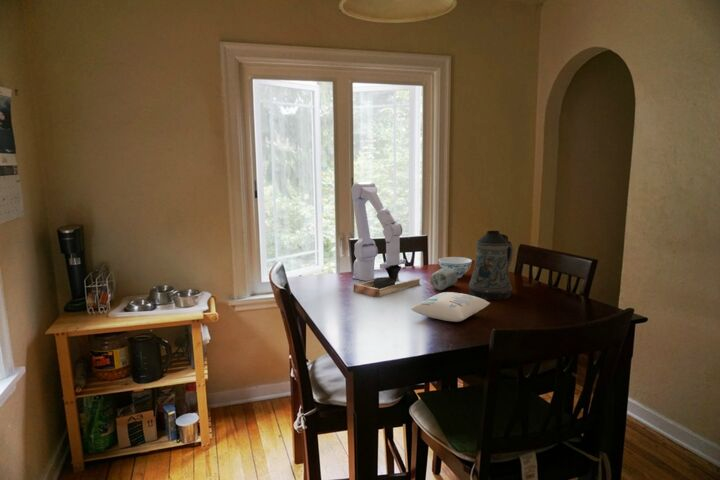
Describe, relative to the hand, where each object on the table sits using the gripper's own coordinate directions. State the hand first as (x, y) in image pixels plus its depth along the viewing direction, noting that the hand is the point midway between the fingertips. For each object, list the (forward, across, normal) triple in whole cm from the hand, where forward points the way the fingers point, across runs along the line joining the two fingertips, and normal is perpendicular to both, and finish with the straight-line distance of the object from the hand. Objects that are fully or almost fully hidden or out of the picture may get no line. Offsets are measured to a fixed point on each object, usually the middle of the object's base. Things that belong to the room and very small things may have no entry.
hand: (393, 282), depth 195 cm
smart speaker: (+2, -6, 0) cm, 6 cm away
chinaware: (+2, +32, -10) cm, 33 cm away
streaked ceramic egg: (+2, +12, -18) cm, 22 cm away
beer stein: (+2, +17, -37) cm, 41 cm away
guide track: (+1, -4, 0) cm, 4 cm away
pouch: (+2, -18, -42) cm, 46 cm away
